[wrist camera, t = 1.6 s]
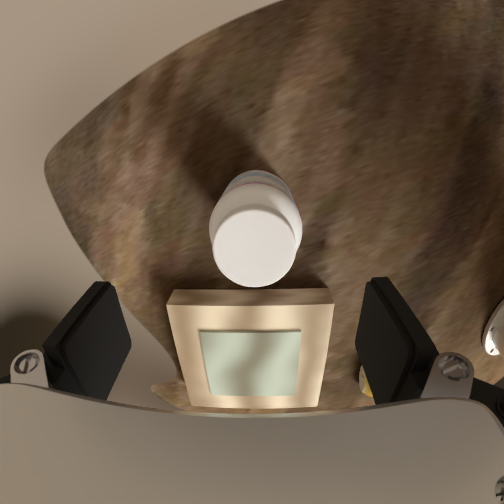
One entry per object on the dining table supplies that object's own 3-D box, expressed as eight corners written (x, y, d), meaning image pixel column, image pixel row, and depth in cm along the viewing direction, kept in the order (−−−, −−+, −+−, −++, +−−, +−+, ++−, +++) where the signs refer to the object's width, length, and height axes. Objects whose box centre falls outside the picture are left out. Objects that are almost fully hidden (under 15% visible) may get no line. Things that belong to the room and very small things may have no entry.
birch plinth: (328, 287, 30) (334, 305, 27) (314, 389, 36) (317, 408, 33) (174, 289, 30) (165, 306, 27) (195, 388, 37) (191, 407, 34)
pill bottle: (271, 244, 28) (276, 314, 18) (213, 215, 27) (182, 271, 17) (304, 188, 26) (331, 229, 15) (242, 156, 25) (227, 176, 14)
